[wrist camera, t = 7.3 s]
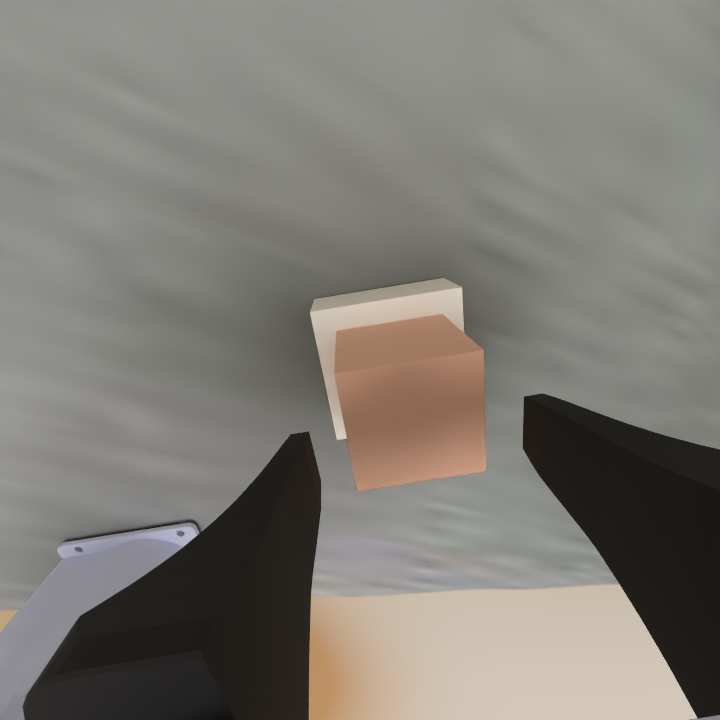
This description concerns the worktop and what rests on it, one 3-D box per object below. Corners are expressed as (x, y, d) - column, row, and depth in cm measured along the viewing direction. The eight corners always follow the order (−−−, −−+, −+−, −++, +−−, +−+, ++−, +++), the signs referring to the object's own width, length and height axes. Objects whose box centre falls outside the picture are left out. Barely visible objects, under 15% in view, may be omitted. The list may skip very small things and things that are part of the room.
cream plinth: (337, 411, 21) (337, 439, 18) (314, 299, 18) (309, 312, 16) (450, 393, 21) (467, 419, 18) (443, 277, 18) (461, 287, 16)
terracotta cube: (353, 422, 18) (357, 491, 13) (336, 330, 16) (334, 373, 11) (448, 407, 18) (486, 471, 13) (442, 313, 16) (483, 349, 11)
